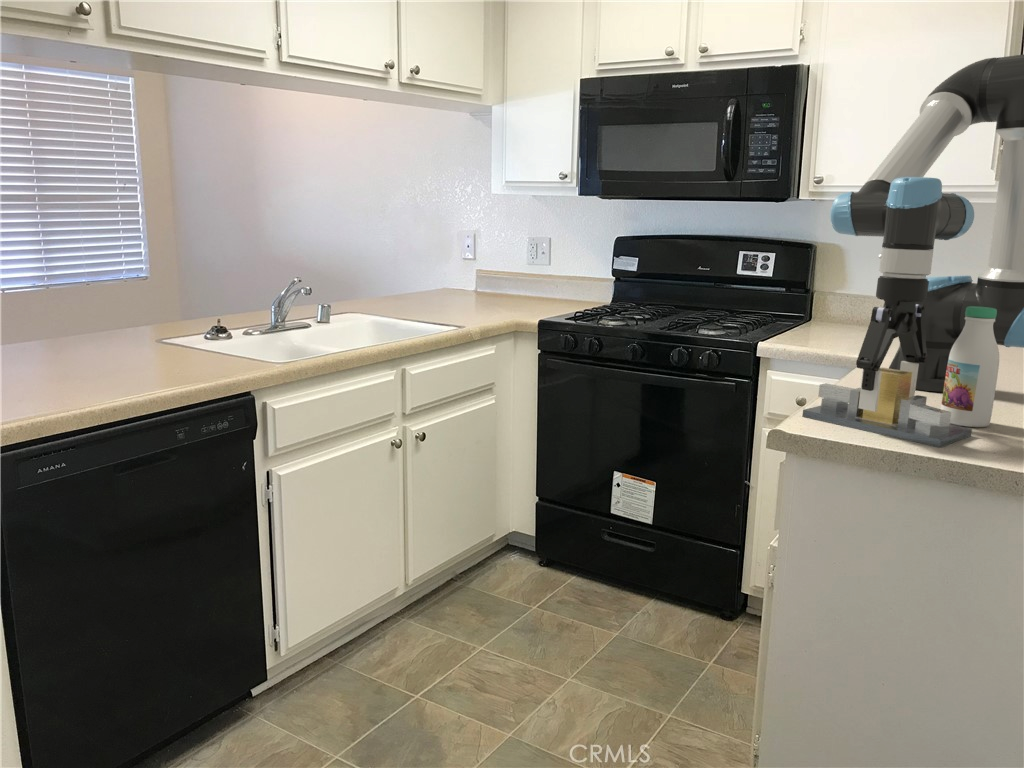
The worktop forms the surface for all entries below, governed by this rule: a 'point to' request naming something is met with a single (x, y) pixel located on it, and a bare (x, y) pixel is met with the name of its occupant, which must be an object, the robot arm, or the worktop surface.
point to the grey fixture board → (912, 423)
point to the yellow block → (890, 395)
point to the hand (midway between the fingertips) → (886, 404)
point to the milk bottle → (972, 370)
